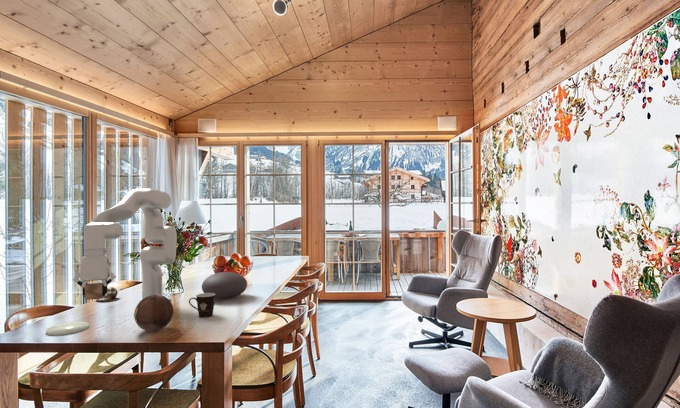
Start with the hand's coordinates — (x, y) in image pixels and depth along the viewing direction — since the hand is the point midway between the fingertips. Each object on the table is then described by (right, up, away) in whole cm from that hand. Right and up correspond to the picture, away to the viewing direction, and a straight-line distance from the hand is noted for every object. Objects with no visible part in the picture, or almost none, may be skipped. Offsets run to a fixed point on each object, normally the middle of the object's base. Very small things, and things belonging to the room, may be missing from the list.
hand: (95, 295), depth 162 cm
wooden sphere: (+24, -16, +2) cm, 28 cm away
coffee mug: (+37, -16, +24) cm, 47 cm away
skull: (-29, -16, +57) cm, 66 cm away
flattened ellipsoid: (+37, -16, +58) cm, 71 cm away
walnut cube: (0, -1, 0) cm, 1 cm away
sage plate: (-14, -16, +4) cm, 22 cm away
